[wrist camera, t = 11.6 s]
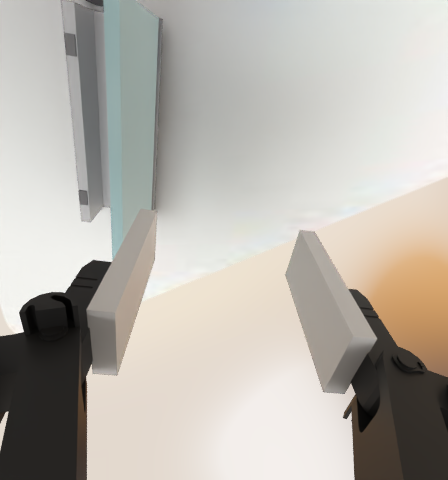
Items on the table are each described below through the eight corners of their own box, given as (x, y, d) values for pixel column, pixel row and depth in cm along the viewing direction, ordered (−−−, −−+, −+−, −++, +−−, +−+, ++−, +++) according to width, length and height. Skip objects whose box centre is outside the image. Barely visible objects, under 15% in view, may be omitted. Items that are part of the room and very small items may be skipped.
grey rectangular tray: (85, 9, 28) (59, -2, 24) (159, 23, 29) (149, 16, 24) (96, 203, 38) (80, 222, 34) (152, 210, 39) (143, 230, 34)
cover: (102, -16, 15) (123, -12, 15) (151, 18, 25) (163, 20, 25) (113, 293, 25) (126, 295, 25) (145, 225, 35) (154, 227, 35)
